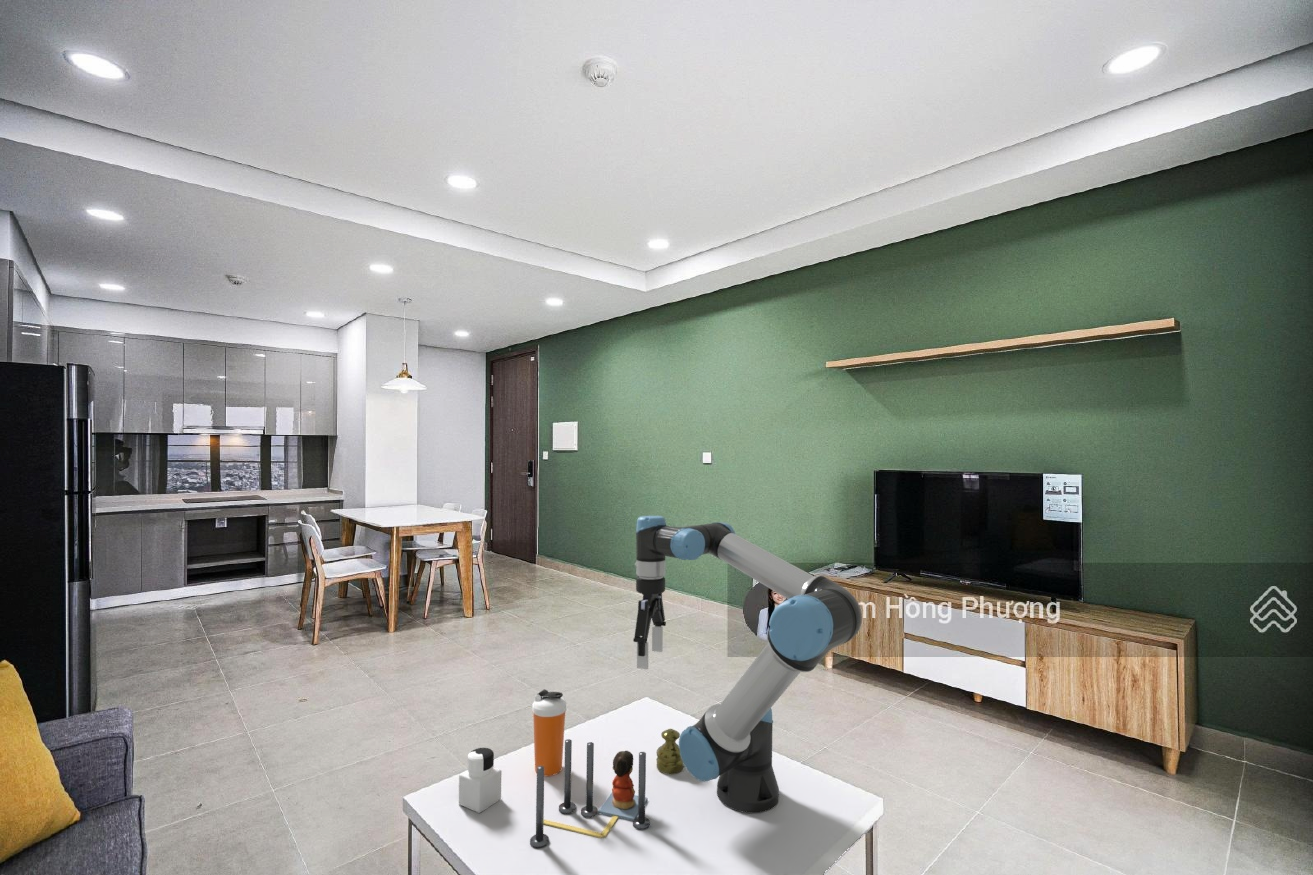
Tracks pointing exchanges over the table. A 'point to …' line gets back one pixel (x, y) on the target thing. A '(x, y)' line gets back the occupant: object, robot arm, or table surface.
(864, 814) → the table surface
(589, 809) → the gate
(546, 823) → the guide line
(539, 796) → the gate
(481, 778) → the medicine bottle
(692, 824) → the table surface
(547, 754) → the shaker bottle
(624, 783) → the figurine
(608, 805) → the pad
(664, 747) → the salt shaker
